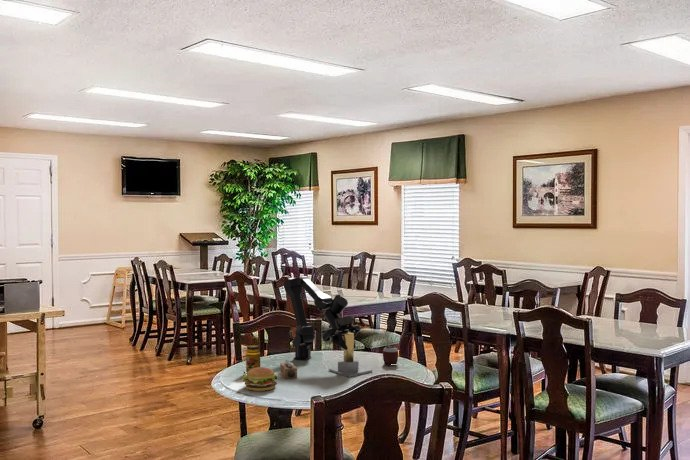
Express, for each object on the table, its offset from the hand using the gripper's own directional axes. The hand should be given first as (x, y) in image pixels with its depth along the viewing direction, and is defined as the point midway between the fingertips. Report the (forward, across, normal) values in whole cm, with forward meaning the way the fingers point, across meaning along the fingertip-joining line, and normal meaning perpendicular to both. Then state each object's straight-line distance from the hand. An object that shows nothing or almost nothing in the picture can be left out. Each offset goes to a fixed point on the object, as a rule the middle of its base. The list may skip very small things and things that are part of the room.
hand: (350, 348), depth 283 cm
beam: (-2, -24, +16) cm, 29 cm away
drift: (-5, -24, +14) cm, 28 cm away
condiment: (-11, -34, +26) cm, 44 cm away
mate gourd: (+9, +23, +6) cm, 25 cm away
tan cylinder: (+4, 0, +6) cm, 7 cm away
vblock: (+6, 0, +8) cm, 10 cm away
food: (+4, -45, +10) cm, 46 cm away
